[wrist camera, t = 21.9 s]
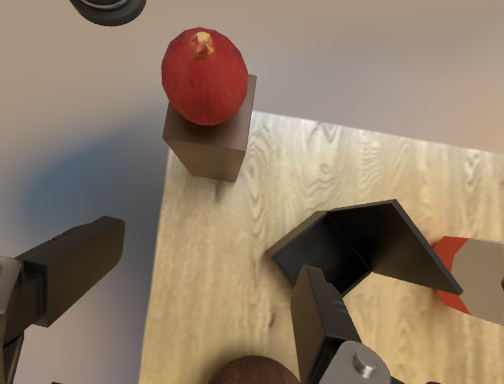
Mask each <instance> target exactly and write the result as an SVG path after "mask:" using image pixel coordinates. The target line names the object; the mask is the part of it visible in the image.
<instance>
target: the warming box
mask: <svg viewBox="0 0 504 384" xmlns="http://www.w3.org/2000/svg"><path fill="white" fill-rule="evenodd" d="M265 252H266V254H267V255H268V256H269V258H270V259H271V261H272V262H273V263H274V265H275V266H276V267H277V269H278V270H279V272H280V273H281V274H282V276H283V277H284V278H285V280H286V281H287V283H288V284H289V285H290V287H291V288H292V290H294V287H295V285H296V282H297V279H298V276H299V273H300V270H301V268H302V266H303V265H307V266H311V267H315V268H319V269H321V270H322V272H323V275H324V277H325V280H326V282H327V283H331V284H332V285H333V286H334V287H335V288H336V289H337V291H338V292H339V293H340V295H341V297H342V298H343V297H344V296H345V295H346V294H347V293H349V292H350V291H351V290H352V289H353V288H354V287H355V286H356V285H358V284H359V283H360V282H361V281H362V280H363V279H364V278H366V277H367V276H368V275H369V274H370V273H371V272H372V270H371V268H370V267H369V265H368V264H367V263H366V261H365V260H364V259H363V257H362V256H361V255H360V253H359V252H358V250H357V249H356V248H355V246H354V245H353V244H352V242H351V241H350V239H349V238H348V237H347V235H346V234H345V233H344V231H343V230H342V229H341V227H340V226H339V224H338V223H337V222H336V220H335V219H334V218H333V216H332V215H331V214H330V212H329V210H326V211H316V212H315V213H314V214H313V215H311V216H310V217H309V218H308V219H306V220H305V221H304V222H302V223H301V224H300V225H299V226H297V227H296V228H295V229H293V230H292V231H291V232H290V233H288V234H287V235H286V236H285V237H283V238H282V239H281V240H279V241H278V242H277V243H276V244H274V245H273V246H272V247H270V248H269V249H268V250H267V251H265Z"/></svg>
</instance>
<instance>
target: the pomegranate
mask: <svg viewBox="0 0 504 384" xmlns="http://www.w3.org/2000/svg"><path fill="white" fill-rule="evenodd" d="M161 68H162V69H161V70H162V85H163V87H164V90H165V92H166V94H167V97H168V99H169V102H170V104H171V105H172V106H173V107H174V108H175V109H176V110H177V111H178V112H179V113H180V114H181V115H182V116H183V117H184V118H185V119H187V120H189V121H191V122H194V123H196V124H198V125H211V126H214V125H217V124H220V123H223V122H226V121H228V120H229V119H230V118H231V117H233V116H234V115H235V114H236V113H237V112H238V111H239V109H240V107H241V105H242V103H243V101H244V99H245V97H246V95H247V86H248V71H247V68H246V65H245V63H244V61H243V58H242V55H241V53H240V51H239V50H238V49H237V48H236V47H235V46H234V44H233V43H232V42H231V41H230V40H229V39H228V38H227V37H225V36H224V35H222V34H220V33H218V32H217V31H215V30H210V29H206V28H201V27H198V28H194V29H189V30H185V31H184V32H182V33H181V34H180V35H179V36H178V37H176V38H175V39H174V40H172V41H171V42H170V44H169V46H168V48H167V51H166V53H165V56H164V58H163V61H162V66H161Z"/></svg>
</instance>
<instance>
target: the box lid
mask: <svg viewBox="0 0 504 384" xmlns="http://www.w3.org/2000/svg"><path fill="white" fill-rule="evenodd" d="M329 212H330V214H331V215H332V216H333V218H334V219H335V220H336V222H337V223H338V224H339V226H340V227H341V229H342V230H343V231H344V233H345V234H346V235H347V237H348V238H349V239H350V241H351V242H352V244H353V245H354V246H355V248H356V249H357V250H358V252H359V253H360V255H361V256H362V257H363V259H364V260H365V261H366V263H367V264H368V265H369V267H370V268H371V270H372V271H373V272H374V273H377V274H380V275H384V276H388V277H392V278H395V279H399V280H403V281H407V282H410V283H414V284H418V285H422V286H425V287H429V288H433V289H437V290H441V291H444V292H448V293H452V294H456V295H461V294H462V293H463V289H462V288H461V287H460V285H459V284H458V282H457V281H456V280H455V278H454V277H453V276H452V274H451V273H450V272H449V270H448V269H447V268H446V266H445V265H444V263H443V262H442V261H441V259H440V258H439V257H438V255H437V254H436V253H435V251H434V250H433V249H432V247H431V246H430V244H429V243H428V242H427V240H426V239H425V238H424V236H423V235H422V234H421V232H420V231H419V230H418V228H417V227H416V225H415V224H414V223H413V221H412V220H411V219H410V217H409V216H408V215H407V213H406V212H405V210H404V209H403V208H402V206H401V205H400V204H399V202H398V201H397V200H396V199H392V200H386V201H380V202H373V203H367V204H360V205H354V206H348V207H341V208H335V209H331V210H330V211H329Z"/></svg>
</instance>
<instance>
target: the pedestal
mask: <svg viewBox="0 0 504 384" xmlns="http://www.w3.org/2000/svg"><path fill="white" fill-rule="evenodd" d="M256 78H257V77H256V76H254V75H249V74H248V86H247V95H246V97H245V99H244V101H243V103H242V105H241V107H240V109H239V111H238V112H237V113H236V114H235V115H234V116H233V117H231V118H230V119H229V120H228V121H226V122H223V123H220V124H217V125H214V126H211V125H198V124H196V123H194V122H191V121H189V120H187V119H185V118H184V117H183V116H182V115H181V114H180V113H179V112H178V111H177V110H176V109H175V108H174V107H173V106H172V105H171V104H170V102H169V104H168V110H167V116H166V121H165V126H164V132H163V139H164V140H165V141H166V143H167V144H168V145H169V146H170V148H171V149H172V150H173V152H174V153H175V154H176V155H177V157H178V158H179V159H180V161H181V162H182V163H183V164H184V166H185V167H186V168H187V169H188V171H189V172H190V173H191V175H192V176H199V177H205V178H212V179H219V180H225V181H232V182H236V179H237V176H238V174H239V171H240V168H241V165H242V162H243V159H244V156H245V153H246V149H247V142H248V135H249V128H250V121H251V113H252V106H253V99H254V92H255V84H256Z"/></svg>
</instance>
